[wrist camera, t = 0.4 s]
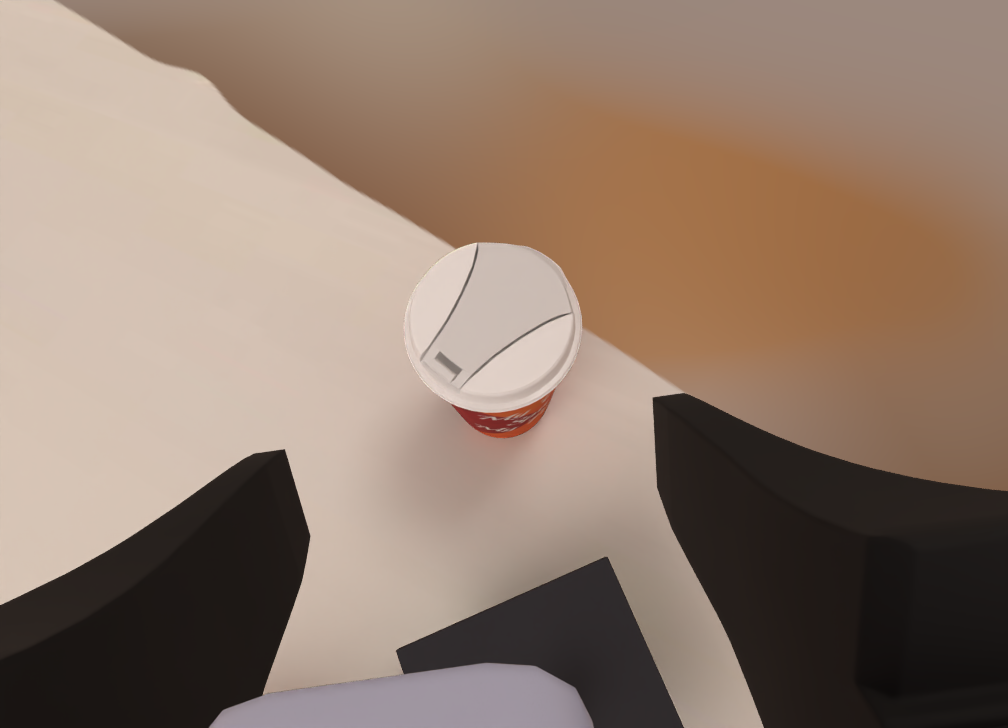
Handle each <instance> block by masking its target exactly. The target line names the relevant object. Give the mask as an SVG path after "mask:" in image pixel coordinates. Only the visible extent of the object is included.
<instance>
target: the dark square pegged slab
mask: <svg viewBox="0 0 1008 728" xmlns="http://www.w3.org/2000/svg"><path fill="white" fill-rule="evenodd" d="M396 652H397V655H398V658H399V661H400V664H401V667H402V670H403V673H404V674H410V673H417V672H424V671H431V670H438V669H445V668H453V667H460V666H467V665H474V664H481V663H498V664H515V665H531V666H536V667H538V668H540V669H542V670H544V671H546V672H547V673H549V674H551V675H553V676H555V677H557V678H558V679H560V680H562V681H564V682H566V683H567V684H569V685H571V686H573V687H575V688H576V690H577V692H578V694H579V696H580V698H581V700H582V702H583V704H584V705H585V707H586V709H587V711H588V713H589V715H590V717H591V719H592V722H593V727H594V728H684V727H683V725H682V722H681V720H680V718H679V716H678V714H677V711H676V709H675V707H674V705H673V702H672V700H671V698H670V696H669V693H668V691H667V689H666V687H665V684H664V682H663V680H662V678H661V675H660V673H659V671H658V669H657V667H656V664H655V662H654V660H653V658H652V655H651V653H650V651H649V649H648V646H647V644H646V642H645V640H644V637H643V635H642V633H641V631H640V628H639V626H638V624H637V622H636V619H635V617H634V615H633V613H632V611H631V608H630V606H629V604H628V602H627V599H626V597H625V595H624V593H623V590H622V588H621V586H620V584H619V581H618V579H617V577H616V575H615V572H614V570H613V568H612V566H611V564H610V561H609V559H608V557H604V558H602V559H599V560H597V561H595V562H593V563H590V564H588V565H586V566H584V567H581V568H579V569H577V570H575V571H572V572H570V573H568V574H566V575H563V576H561V577H559V578H557V579H554V580H552V581H550V582H548V583H545V584H543V585H541V586H539V587H536V588H534V589H532V590H530V591H527V592H525V593H523V594H521V595H518V596H516V597H514V598H511V599H509V600H507V601H505V602H502V603H500V604H498V605H496V606H493V607H491V608H489V609H487V610H484V611H482V612H480V613H478V614H475V615H473V616H471V617H469V618H466V619H464V620H462V621H460V622H457V623H455V624H453V625H451V626H448V627H446V628H444V629H442V630H439V631H437V632H435V633H433V634H430V635H428V636H426V637H424V638H421V639H419V640H417V641H415V642H412V643H410V644H408V645H405V646H403V647H401V648H399V649H397V650H396Z"/></svg>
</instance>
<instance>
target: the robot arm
mask: <svg viewBox="0 0 1008 728" xmlns="http://www.w3.org/2000/svg"><path fill="white" fill-rule="evenodd" d="M653 414H654V433H655V453H656V473H657V488H658V491H659V494H660V497H661V500H662V503H663V506H664V509H665V511H666V514H667V517H668V519H669V522H670V525H671V527H672V530H673V532H674V534H675V536H676V538H677V540H678V542H679V544H680V545H681V547H682V549H683V551H684V553H685V555H686V557H687V559H688V561H689V563H690V565H691V566H692V568H693V570H694V572H695V574H696V576H697V578H698V579H699V581H700V583H701V585H702V587H703V589H704V591H705V593H706V595H707V596H708V598H709V600H710V602H711V604H712V606H713V608H714V610H715V611H716V613H717V615H718V617H719V619H720V621H721V623H722V625H723V627H724V629H725V631H726V633H727V636H728V638H729V640H730V642H731V644H732V647H733V649H734V652H735V654H736V657H737V659H738V662H739V664H740V667H741V669H742V672H743V674H744V677H745V679H746V682H747V684H748V687H749V689H750V692H751V695H752V697H753V700H754V703H755V705H756V708H757V710H758V713H759V716H760V718H761V721H762V724H763V726H764V728H1008V491H1000V490H990V489H982V488H975V487H968V486H961V485H954V484H948V483H941V482H935V481H930V480H924V479H918V478H913V477H908V476H903V475H900V474H895V473H891V472H886V471H882V470H877V469H873V468H869V467H866V466H862V465H858V464H854V463H851V462H848V461H844V460H841V459H838V458H835V457H831V456H828V455H825V454H822V453H819V452H816V451H813V450H810V449H808V448H805V447H802V446H800V445H797V444H795V443H792V442H790V441H787V440H785V439H782V438H780V437H777V436H775V435H773V434H770V433H768V432H766V431H763V430H761V429H759V428H757V427H755V426H753V425H750V424H748V423H746V422H744V421H742V420H740V419H738V418H736V417H734V416H732V415H730V414H728V413H726V412H724V411H722V410H720V409H718V408H716V407H714V406H712V405H710V404H708V403H706V402H704V401H701V400H699V399H697V398H695V397H693V396H691V395H688V394H685V393H681V394H674V395H667V396H660V397H653ZM309 541H310V533H309V530H308V526H307V523H306V520H305V516H304V513H303V509H302V506H301V503H300V499H299V496H298V492H297V489H296V486H295V482H294V479H293V476H292V472H291V469H290V465H289V462H288V459H287V455H286V452H285V449H284V450H277V451H269V452H262V453H255V454H252V455H250V456H249V457H247V458H245V459H243V460H242V461H240V462H238V463H237V464H235V465H234V466H232V467H231V468H229V469H228V470H227V471H225V472H224V473H222V474H221V475H219V476H218V477H217V478H215V479H214V480H212V481H211V482H210V483H208V484H207V485H205V486H204V487H203V488H201V489H200V490H198V491H197V492H196V493H194V494H193V495H191V496H190V497H189V498H187V499H186V500H184V501H183V502H182V503H180V504H179V505H177V506H176V507H175V508H173V509H172V510H170V511H169V512H167V513H166V514H164V515H163V516H161V517H160V518H158V519H157V520H155V521H154V522H152V523H151V524H149V525H148V526H146V527H145V528H143V529H142V530H140V531H139V532H137V533H136V534H134V535H133V536H131V537H129V538H128V539H126V540H125V541H123V542H121V543H120V544H118V545H116V546H115V547H113V548H111V549H110V550H108V551H106V552H105V553H103V554H101V555H99V556H98V557H96V558H94V559H92V560H90V561H89V562H87V563H85V564H83V565H81V566H80V567H78V568H76V569H74V570H72V571H70V572H68V573H66V574H65V575H63V576H60V577H58V578H56V579H54V580H52V581H50V582H48V583H46V584H44V585H42V586H40V587H38V588H36V589H34V590H31V591H29V592H27V593H25V594H23V595H21V596H19V597H17V598H15V599H13V600H11V601H9V602H6V603H4V604H2V605H0V728H594V727H593V722H592V719H591V717H590V715H589V713H588V711H587V709H586V707H585V705H584V704H583V702H582V700H581V698H580V696H579V694H578V692H577V690H576V688H575V687H573V686H571V685H569V684H567V683H566V682H564V681H562V680H560V679H558V678H557V677H555V676H553V675H551V674H549V673H547V672H546V671H544V670H542V669H540V668H538V667H536V666H531V665H515V664H498V663H481V664H474V665H467V666H460V667H453V668H445V669H438V670H431V671H424V672H417V673H410V674H402V675H395V676H388V677H381V678H374V679H367V680H359V681H352V682H345V683H338V684H331V685H324V686H316V687H309V688H302V689H295V690H288V691H281V692H274V693H269V694H266V695H263V696H262V694H263V691H264V688H265V685H266V682H267V679H268V676H269V673H270V671H271V668H272V665H273V662H274V659H275V657H276V654H277V651H278V648H279V645H280V643H281V640H282V637H283V634H284V631H285V629H286V626H287V623H288V620H289V617H290V615H291V612H292V609H293V606H294V603H295V600H296V597H297V594H298V591H299V588H300V585H301V582H302V578H303V574H304V569H305V564H306V559H307V553H308V547H309Z"/></svg>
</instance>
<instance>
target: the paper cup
mask: <svg viewBox="0 0 1008 728" xmlns="http://www.w3.org/2000/svg"><path fill="white" fill-rule="evenodd" d="M581 336H582V316H581V311H580V307H579V303H578V300H577V297H576V295H575V293H574V290H573V289H572V287H571V285H570V284H569V282H568V280H567V279H566V277H565V275H564V273H563V271H562V269H561V268H560V267H559V266H558V265H557V264H556V263H555V262H554V261H553V260H551V259H550V258H548V257H547V256H545V255H544V254H542V253H541V252H539V251H536V250H534V249H532V248H530V247H527V246H518V245H512V244H504V243H503V244H502V243H473V244H469V245H466V246H463V247H460V248H458V249H456V250H454V251H452V252H450V253H448V254H447V255H445V256H444V257H442V258H441V259H439V260H438V261H437V262H436V263H435V264H434V265H433V266H432V267H431V268H430V269H429V270H428V271H427V272H426V274H425V275H424V276H423V277H422V279H421V280H420V281H419V283H418V284H417V286H416V287H415V289H414V291H413V293H412V295H411V297H410V300H409V302H408V305H407V308H406V313H405V318H404V340H405V347H406V350H407V353H408V357H409V360H410V362H411V364H412V366H413V368H414V370H415V372H416V373H417V374H418V376H419V377H420V378H421V380H422V381H423V382H424V384H425V385H426V386H428V387H429V388H430V389H431V390H432V391H433V392H434V393H435V394H437V395H438V396H439V397H441V398H442V399H444V400H445V401H447V402H449V403H451V405H452V406H453V407H454V408H455V409H456V410H457V411H458V413H459V414H460V415H461V416H462V417H463V418H464V419H465V420H466V421H467V422H468V423H469V424H470V425H471V426H472V427H473V428H475V429H476V430H478V431H479V432H481V433H483V434H485V435H488V436H491V437H496V438H509V437H514V436H518V435H520V434H522V433H525V432H526V431H528V430H529V429H531V428H532V427H533V426H534V425H535V424H536V423H537V422H538V421H539V420H540V418H541V417H542V416H543V414H544V412H545V410H546V408H547V406H548V404H549V402H550V400H551V397H552V395H553V393H554V390H555V388H556V386H557V385H558V384H559V383H560V382H561V381H562V380H563V379H564V377H565V376H566V375H567V373H568V372H569V370H570V369H571V367H572V365H573V363H574V361H575V359H576V357H577V354H578V350H579V347H580V343H581Z"/></svg>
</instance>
